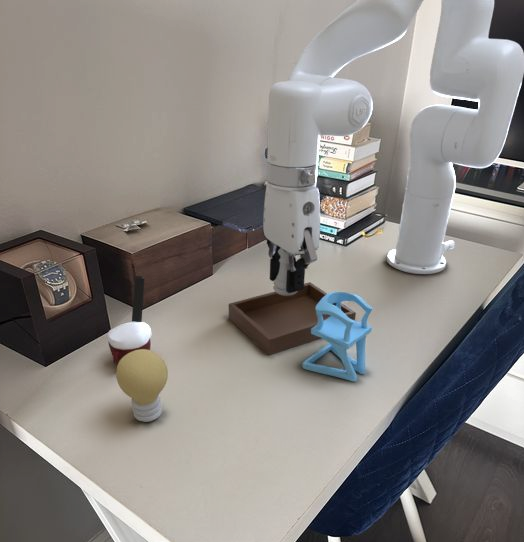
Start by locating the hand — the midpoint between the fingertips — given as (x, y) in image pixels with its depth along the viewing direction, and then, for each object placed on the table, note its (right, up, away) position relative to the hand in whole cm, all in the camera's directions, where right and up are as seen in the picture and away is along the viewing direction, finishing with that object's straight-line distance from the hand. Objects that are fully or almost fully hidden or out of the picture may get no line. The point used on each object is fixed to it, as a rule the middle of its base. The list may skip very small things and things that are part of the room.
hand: (286, 283), depth 86 cm
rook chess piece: (0, -1, +1) cm, 2 cm away
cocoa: (-24, -13, -6) cm, 28 cm away
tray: (+1, -6, +4) cm, 7 cm away
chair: (+8, -14, -7) cm, 18 cm away
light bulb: (-20, -20, -17) cm, 33 cm away
